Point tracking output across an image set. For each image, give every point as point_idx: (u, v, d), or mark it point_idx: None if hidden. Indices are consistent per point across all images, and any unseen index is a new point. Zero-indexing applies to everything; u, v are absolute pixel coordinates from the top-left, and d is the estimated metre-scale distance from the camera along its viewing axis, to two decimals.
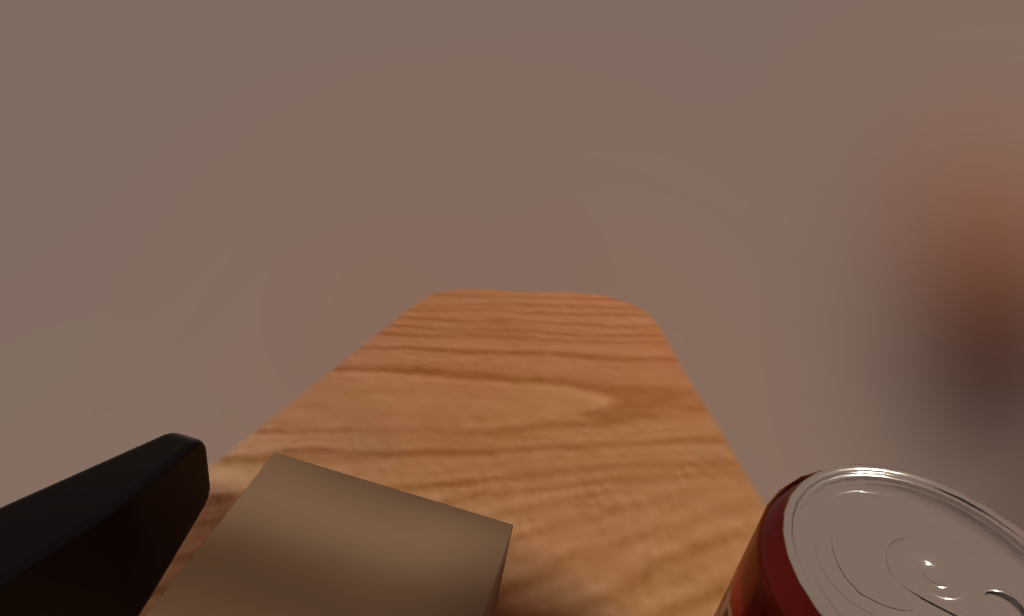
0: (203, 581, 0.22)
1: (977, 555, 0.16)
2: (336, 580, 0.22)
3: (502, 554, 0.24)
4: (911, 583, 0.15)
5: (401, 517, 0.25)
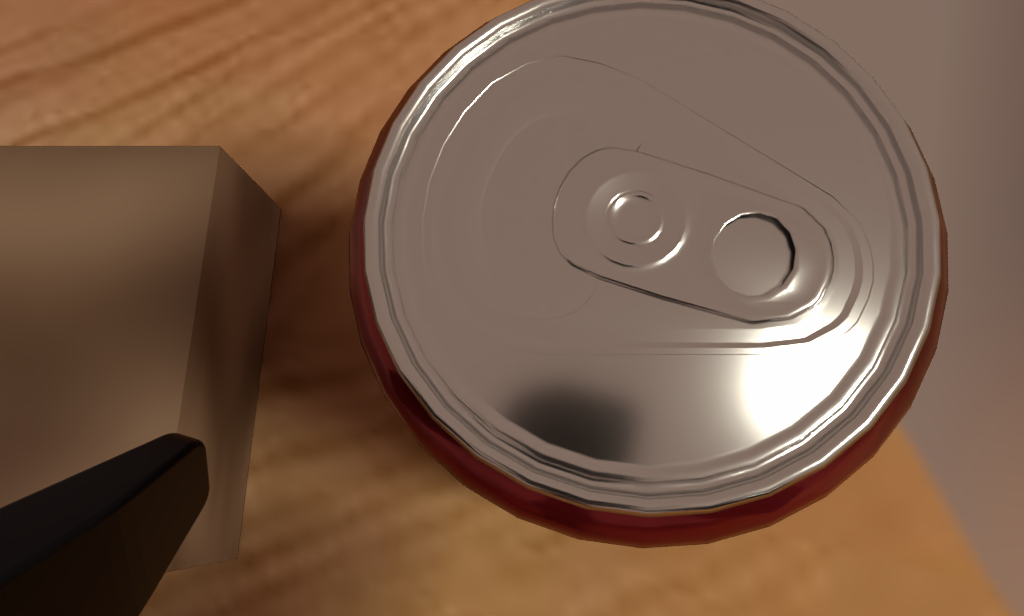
0: None
1: (737, 136, 0.09)
2: (10, 302, 0.17)
3: (211, 195, 0.18)
4: (588, 250, 0.08)
5: (70, 186, 0.18)
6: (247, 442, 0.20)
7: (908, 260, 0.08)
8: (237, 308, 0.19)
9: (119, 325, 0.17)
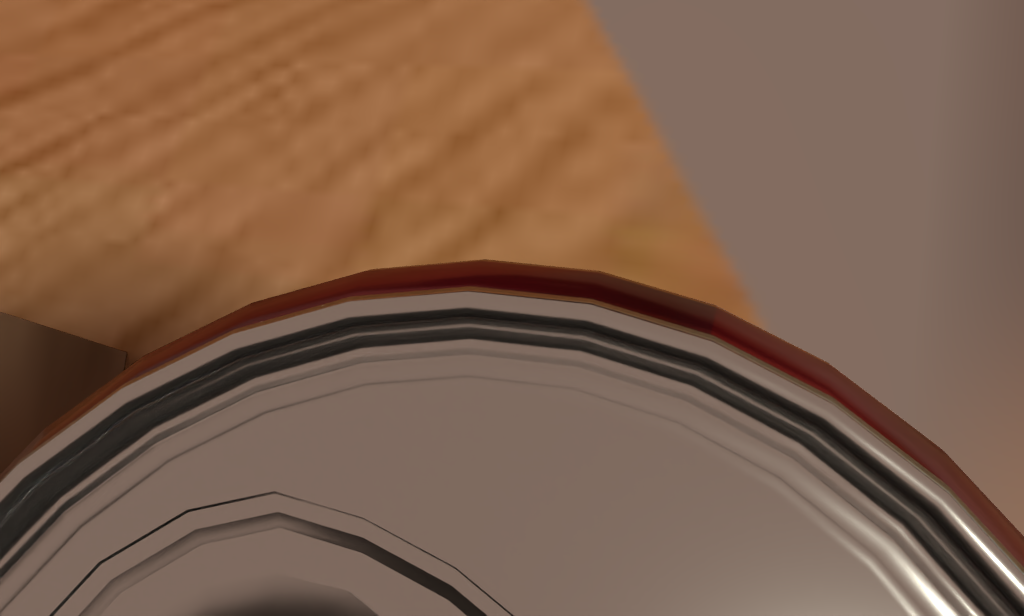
0: None
1: None
2: None
3: None
4: None
5: None
6: None
7: None
8: None
9: None
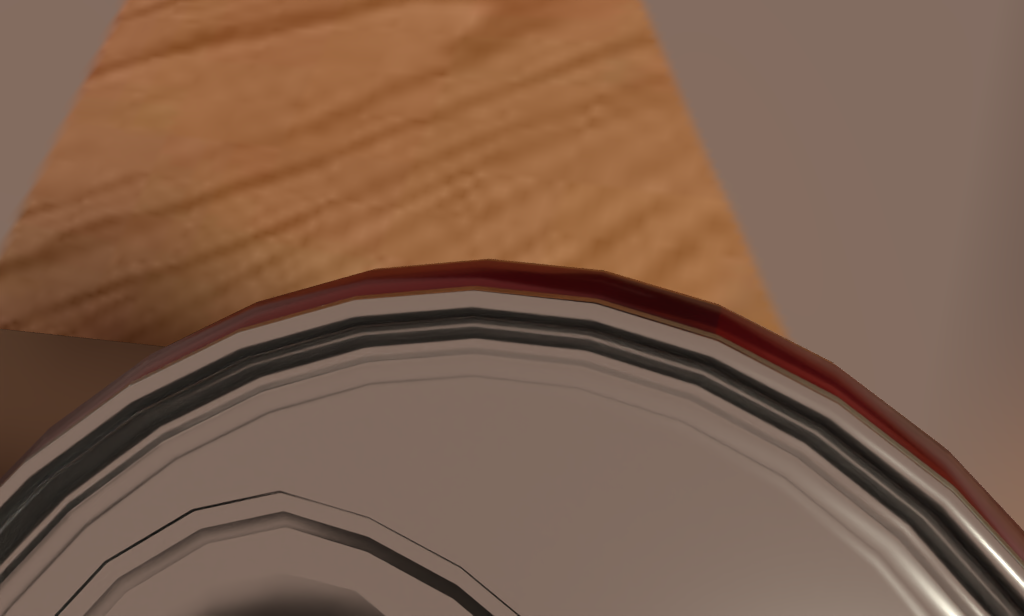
0: None
1: None
2: None
3: None
4: None
5: None
6: None
7: None
8: None
9: None
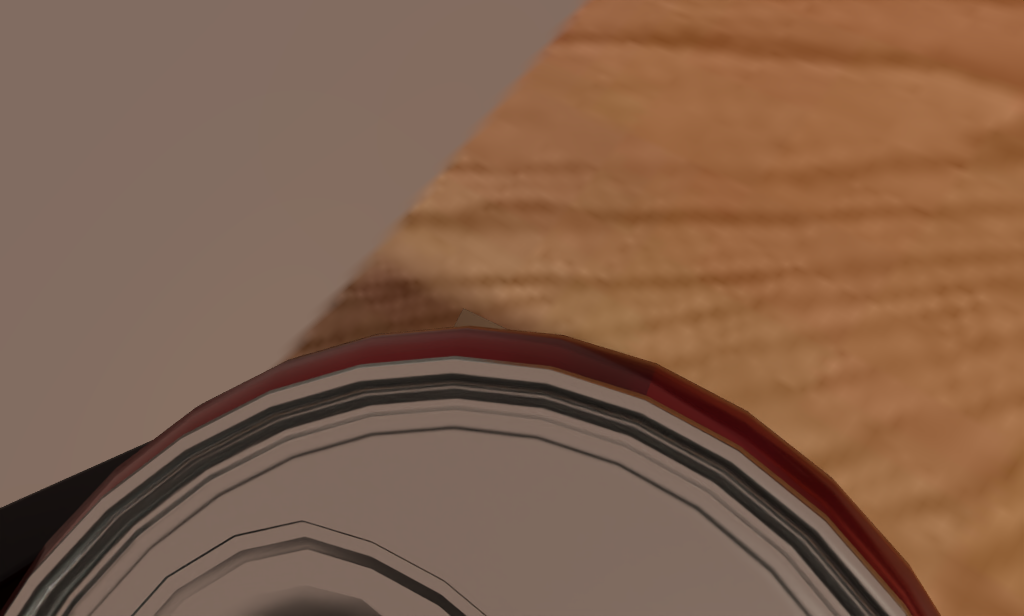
0: None
1: None
2: None
3: None
4: None
5: None
6: None
7: None
8: None
9: None
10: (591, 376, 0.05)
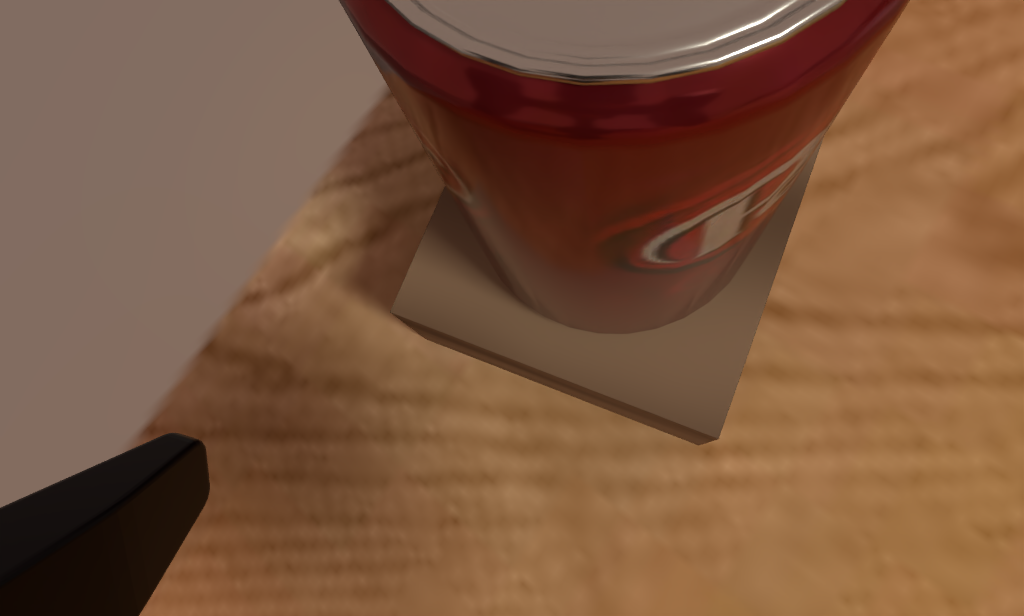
0: None
1: None
2: None
3: None
4: None
5: None
6: None
7: None
8: None
9: None
10: None
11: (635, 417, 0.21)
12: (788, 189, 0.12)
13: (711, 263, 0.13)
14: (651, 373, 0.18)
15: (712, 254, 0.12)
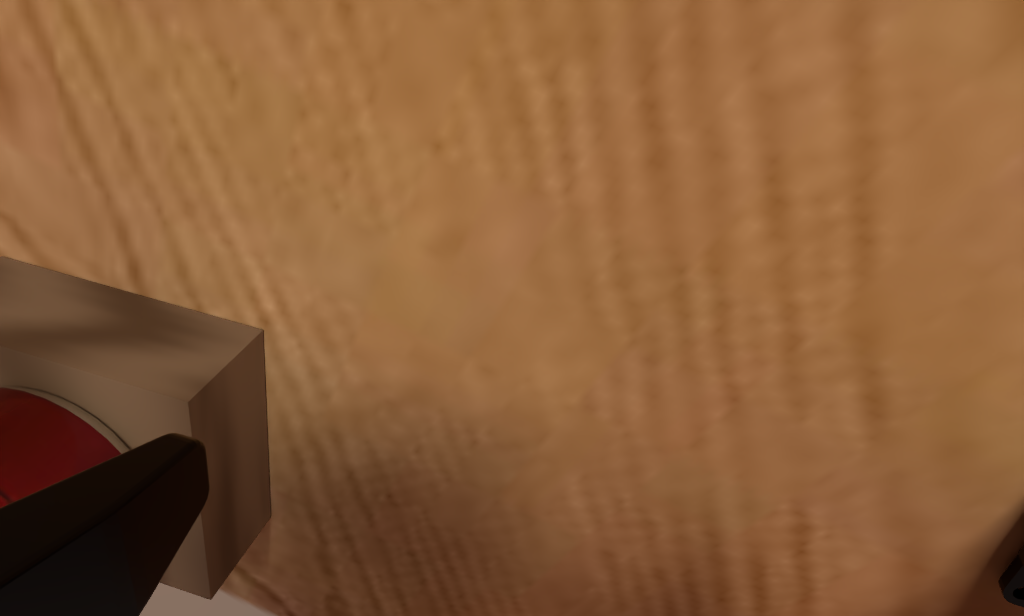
0: None
1: None
2: None
3: None
4: None
5: None
6: (175, 310, 0.24)
7: None
8: (48, 309, 0.23)
9: None
10: None
11: (247, 397, 0.24)
12: None
13: None
14: None
15: None
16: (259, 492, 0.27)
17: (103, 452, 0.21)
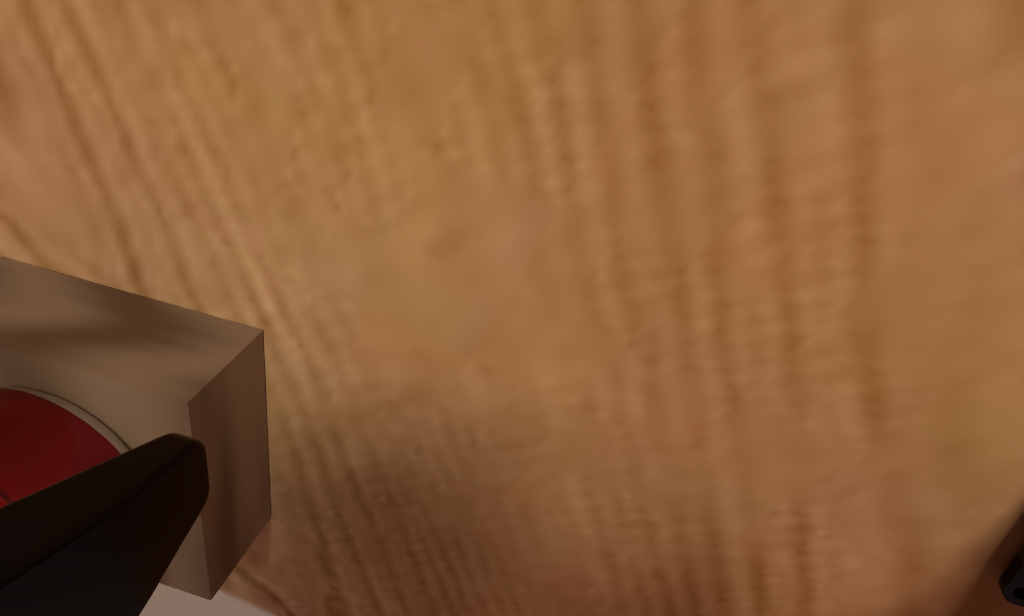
0: None
1: None
2: None
3: None
4: None
5: None
6: (175, 311, 0.24)
7: None
8: (48, 310, 0.23)
9: None
10: None
11: (246, 397, 0.24)
12: None
13: None
14: None
15: None
16: (259, 492, 0.27)
17: (103, 452, 0.21)
